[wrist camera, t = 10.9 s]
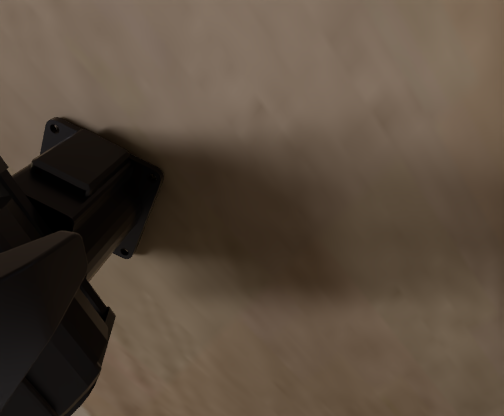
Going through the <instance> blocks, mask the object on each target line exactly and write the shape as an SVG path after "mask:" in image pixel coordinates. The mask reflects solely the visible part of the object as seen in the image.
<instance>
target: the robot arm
mask: <svg viewBox="0 0 504 416" xmlns="http://www.w3.org/2000/svg"><path fill="white" fill-rule="evenodd" d="M55 125H56V126H58V128H59V131H58V130H57V129H56V128H55ZM7 168H9V167H8V166H7V164H6V163H5V162H4V160H3V159H2V158H1V156H0V416H71V415H72V414H73V413H74V412H75V411H76V409H78V408H79V407H80V406H81V405H82V403H83V402H84V401H85V400H86V398H87V397H88V396H89V394H90V393H91V391H92V389H93V388H94V386H95V384H96V381H97V379H98V377H99V375H100V372H101V366H102V362H103V359H104V355H105V352H106V348H107V345H108V341H109V338H110V334H111V331H112V327H113V324H114V320H115V317H116V316H115V314H114V313H113V311H112V310H111V308H110V307H106V305H105V304H104V303H103V301H102V300H101V299H100V297H99V296H98V294H97V293H96V292H95V290H94V289H93V288H92V286H91V285H90V283H89V281H90V280H91V278H92V277H93V276H94V275H95V274H96V272H97V271H98V270H99V269H100V267H101V266H102V265H103V264H104V263H105V261H106V260H107V259H108V258H109V256H110V255H111V254H112V253H114V254H116V255H118V256H120V257H122V258H124V259H129V258H131V257H132V255H133V254H134V253H135V251H136V248H137V246H138V243H139V241H140V238H141V236H142V233H143V230H144V228H145V225H146V223H147V220H148V218H149V215H150V212H151V210H152V207H153V205H154V202H155V200H156V197H157V194H158V192H159V189H160V187H161V184H162V182H163V178H164V175H163V172H162V171H161V170H160V169H159V168H158V167H156V166H154V165H152V164H150V163H148V162H146V161H144V160H142V159H140V158H138V157H136V156H134V155H132V154H130V153H129V152H128V151H127V150H125V149H123V148H121V147H120V146H118V145H116V144H114V143H112V142H110V141H108V140H106V139H104V138H102V137H100V136H98V135H96V134H94V133H92V132H90V131H88V130H86V129H81V128H79V127H77V126H75V125H73V124H71V123H69V122H67V121H65V120H63V119H61V118H58V117H54V118H52V119H50V120H49V121H47V123H46V126H45V131H44V136H43V142H42V147H41V152H40V155H39V156H38V157H36V158H35V159H33V160H32V163H31V164H29V165H28V166H26V167H25V168H23V169H22V170H20V171H19V172H17V173H15V174H14V175H12V176H11V175H10V173H9V172H8V170H7ZM150 174H153V175H155V177H156V179H153V178H152V177H151V176H150ZM124 249H127V250H128V251H126V250H124Z"/></svg>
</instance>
